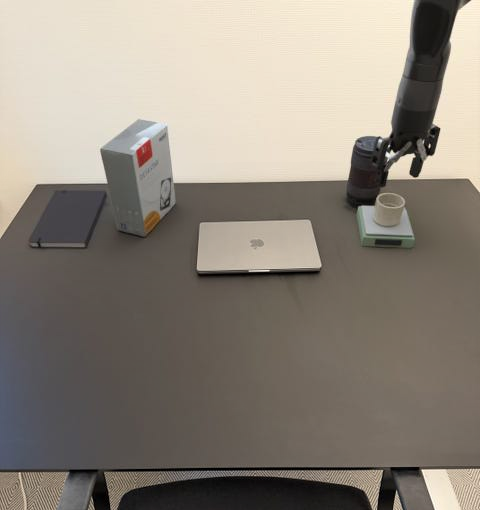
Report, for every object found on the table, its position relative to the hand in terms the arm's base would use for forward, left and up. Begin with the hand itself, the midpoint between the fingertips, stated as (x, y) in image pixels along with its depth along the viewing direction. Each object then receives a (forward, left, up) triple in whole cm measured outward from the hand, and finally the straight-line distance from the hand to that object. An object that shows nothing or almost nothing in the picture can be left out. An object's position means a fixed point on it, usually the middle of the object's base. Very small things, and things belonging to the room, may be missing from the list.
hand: (397, 180), depth 98 cm
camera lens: (+4, -12, -13) cm, 18 cm away
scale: (0, 0, -13) cm, 13 cm away
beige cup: (0, 0, -10) cm, 10 cm away
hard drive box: (+55, -2, -13) cm, 57 cm away
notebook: (+73, +1, -13) cm, 74 cm away
